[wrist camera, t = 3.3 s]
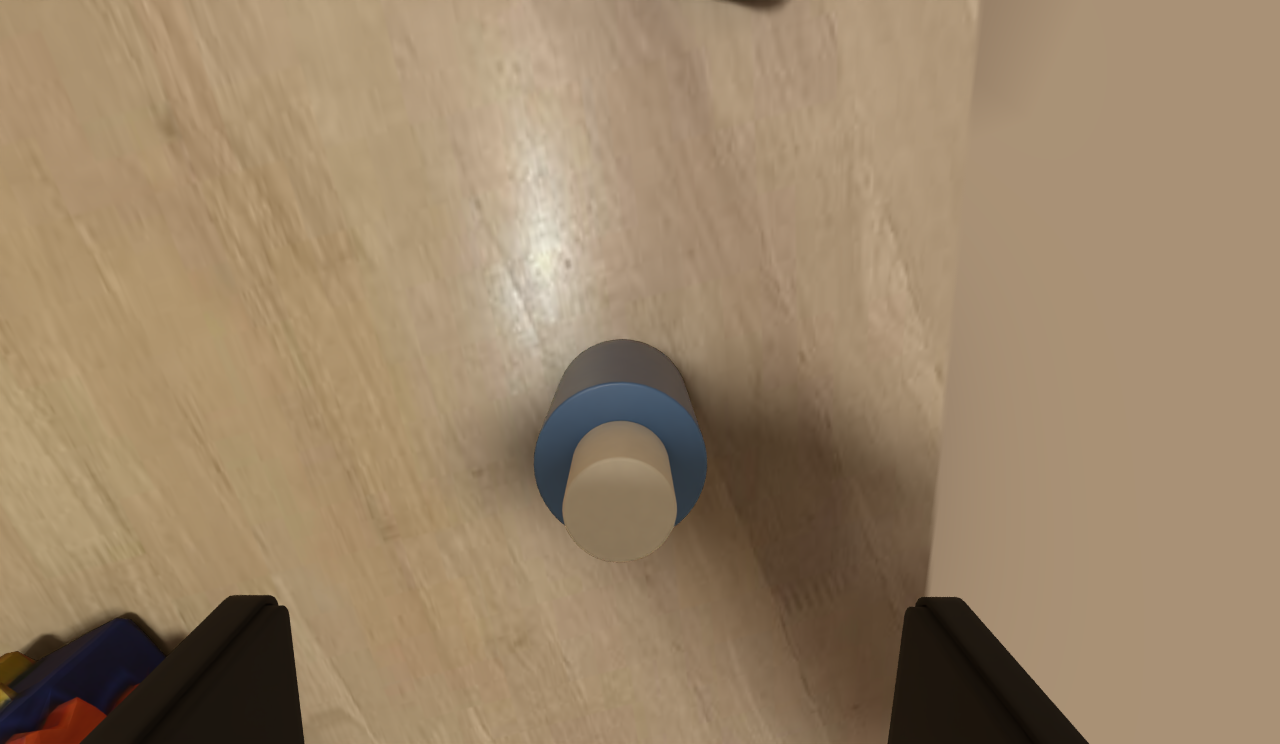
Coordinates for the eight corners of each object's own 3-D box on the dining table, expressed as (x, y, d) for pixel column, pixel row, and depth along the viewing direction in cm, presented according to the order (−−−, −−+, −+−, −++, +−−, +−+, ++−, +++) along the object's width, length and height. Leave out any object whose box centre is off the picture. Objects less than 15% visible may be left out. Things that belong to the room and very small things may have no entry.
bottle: (689, 340, 25) (727, 414, 16) (684, 465, 26) (717, 604, 17) (556, 337, 25) (514, 411, 15) (556, 464, 26) (518, 603, 17)
